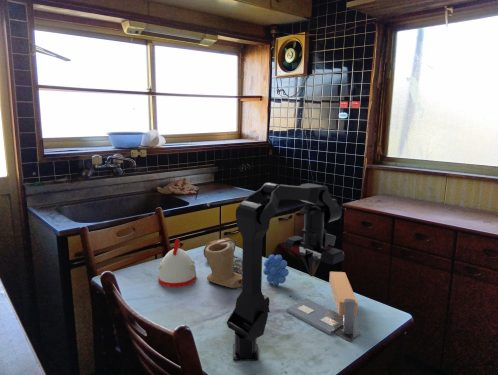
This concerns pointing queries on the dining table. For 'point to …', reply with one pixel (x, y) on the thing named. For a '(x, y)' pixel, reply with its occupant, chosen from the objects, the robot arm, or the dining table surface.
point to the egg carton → (237, 265)
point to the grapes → (275, 269)
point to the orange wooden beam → (344, 299)
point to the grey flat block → (347, 335)
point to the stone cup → (222, 265)
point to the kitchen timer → (176, 268)
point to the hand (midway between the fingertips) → (311, 275)
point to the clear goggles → (222, 242)
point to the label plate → (317, 316)
